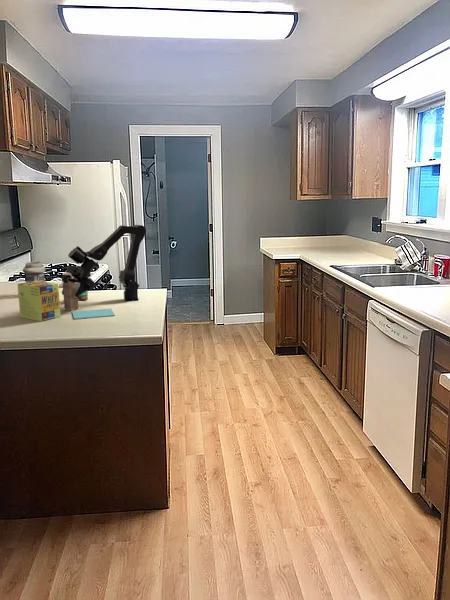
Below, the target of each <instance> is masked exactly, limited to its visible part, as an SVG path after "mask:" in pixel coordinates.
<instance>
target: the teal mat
mask: <svg viewBox="0 0 450 600" xmlns="http://www.w3.org/2000/svg"><path fill="white" fill-rule="evenodd" d="M71 313H72V316H73V320H84V319H94V318H107V317H115V316H116V314H115V313H114V311H113V310H112V308H100V309H87V310H75V311H71Z"/></svg>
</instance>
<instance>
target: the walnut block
mask: <svg viewBox="0 0 450 600" xmlns="http://www.w3.org/2000/svg"><path fill="white" fill-rule="evenodd" d="M62 290H63V295H62V296H63V306H64V308H63V309H64V311H66V310H68V311H67V312H73V310H75V311H78V310H79V302H78V297H76V296H75V294H76V292H77V283H73V282H68V283H63V287H62ZM77 309H78V310H77Z"/></svg>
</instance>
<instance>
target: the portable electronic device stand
mask: <svg viewBox="0 0 450 600" xmlns="http://www.w3.org/2000/svg"><path fill="white" fill-rule="evenodd" d="M64 274H66V275H70V276H71V277H72V278H74V277H73V276H72V274H70V273H67V272H66V271H65V272H63V274H62V275H64ZM58 288H63V281H62V280H61V283H58Z"/></svg>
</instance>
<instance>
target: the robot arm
mask: <svg viewBox="0 0 450 600" xmlns="http://www.w3.org/2000/svg"><path fill="white" fill-rule="evenodd" d="M126 234H129V235H130V236H129V237H130V240H131V242H130V246H129V249H128V254H127V259H126V263H125V267H124V269H123V270H120V271H119V276H118V278H119V283H120V284H121V285H122V286H123V288H124V290H123V299H124V300H125V301H126V302H131V301H132V302H133V301H134V302H135V301H140V300H139V296H138V295H139V294H138V293H139V291H138V290H139V287H140V284H139V283H138V282H137V281H136V280H135V279H136V273H135V272H136V271H135V267H136V263H137V259H138V255H139V250H140V246H141V243H142V242H143V240H144V238H145V236H146V234H147V229H146V227H145V226H144V225H142V224H134V225H132V226H131V225H130V226H129V225H122V224H121V225H119V226H118V227H117V228H116V229H115V230H114V231H113V232H112V233H111V234H110V235H109V236H108V237H107V238H106V239H105V240H103V241H102V242H101V243H100V244H98V245H95V246H94V247H92V248H91V249H90V250H88V251H84V250H83V249H82V248H81V247H80V246H76V247H74V248H73V249H72V250H70V252H69V253H68V255H67V256H68V258H70V259H71V260H72V261H73V262H75V263H76V264H80V265H76V266H74V265H67V266H66V267H67V268H66V271H65V272H67V273H70V274H72V276H73V277H74V278H72V277H71V276H70V275H66V274H64V273H63V274H64V275H63V274H62V275H61V276H60V279H61V282H62V281H63V283H68V282H73V283H80V287H79V288H78V290H77V292H76V294H75V296H76V297H78V296H79V295H81V294H82V293H84V292H86V291H90V290H92V289H94V288H95V287H96V283H95V281H94V280H93V279H92V278H91V276H92V274H91V272H92V271H93V269H99V268H100V264H99V261H102V260H103V259H104V258H105V256H106V255H108V251H109V250H110V248H112V247H113V246H114V245H115V244H116V243H117V242H118V241H119V240H120V239H121V238H122V237H124V235H126ZM61 294H62V296H64V295H63V289H62V292H61Z"/></svg>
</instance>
